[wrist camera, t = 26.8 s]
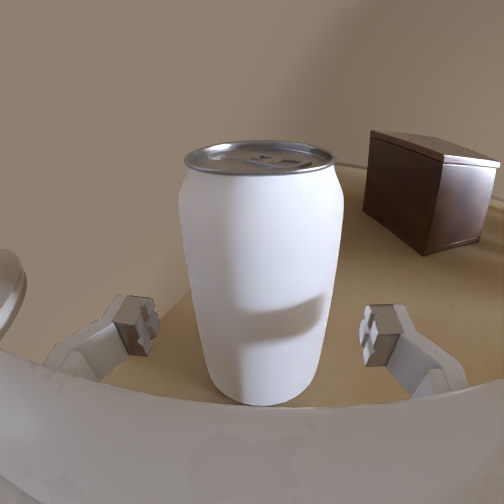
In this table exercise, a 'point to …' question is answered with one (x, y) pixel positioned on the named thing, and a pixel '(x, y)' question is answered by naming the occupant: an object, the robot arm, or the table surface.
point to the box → (426, 197)
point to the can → (261, 262)
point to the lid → (436, 148)
